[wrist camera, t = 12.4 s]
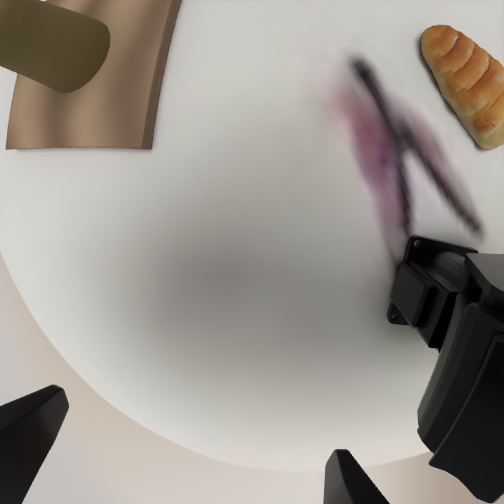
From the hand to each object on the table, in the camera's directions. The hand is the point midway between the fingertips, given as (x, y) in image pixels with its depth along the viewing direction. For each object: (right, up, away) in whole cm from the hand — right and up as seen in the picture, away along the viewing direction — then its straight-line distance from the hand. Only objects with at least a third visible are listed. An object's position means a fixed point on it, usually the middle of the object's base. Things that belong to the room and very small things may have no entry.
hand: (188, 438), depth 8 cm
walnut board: (-11, +20, +9) cm, 24 cm away
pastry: (+18, +17, +7) cm, 26 cm away
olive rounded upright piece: (-11, +20, +7) cm, 24 cm away
